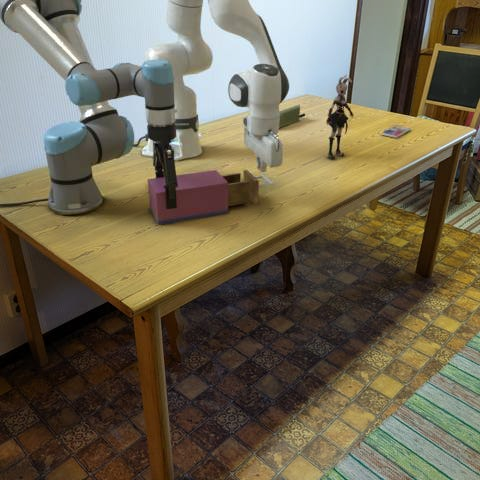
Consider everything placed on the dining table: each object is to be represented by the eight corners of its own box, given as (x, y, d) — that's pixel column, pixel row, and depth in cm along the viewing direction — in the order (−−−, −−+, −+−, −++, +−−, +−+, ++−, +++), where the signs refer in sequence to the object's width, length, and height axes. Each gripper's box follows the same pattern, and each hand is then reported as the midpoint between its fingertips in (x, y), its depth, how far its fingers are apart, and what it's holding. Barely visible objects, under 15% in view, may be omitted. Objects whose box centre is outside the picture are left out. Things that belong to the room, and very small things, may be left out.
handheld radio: (268, 129, 217) (300, 116, 234) (274, 130, 216) (306, 118, 233) (269, 113, 214) (302, 102, 231) (276, 115, 212) (308, 103, 229)
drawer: (263, 189, 159) (264, 167, 155) (275, 201, 152) (276, 178, 148) (186, 201, 151) (185, 177, 147) (196, 214, 144) (195, 190, 140)
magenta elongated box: (216, 198, 155) (216, 169, 150) (228, 213, 147) (228, 182, 142) (150, 209, 148) (147, 179, 144) (158, 224, 140) (155, 193, 135)
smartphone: (411, 128, 218) (397, 136, 208) (410, 130, 218) (396, 138, 208) (395, 124, 222) (380, 132, 211) (394, 126, 222) (380, 134, 212)
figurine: (327, 162, 183) (336, 77, 168) (315, 158, 187) (322, 74, 172) (352, 153, 191) (362, 71, 177) (339, 149, 195) (348, 69, 181)
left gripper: (187, 134, 124) (191, 215, 135) (164, 110, 143) (169, 183, 154) (157, 137, 122) (163, 219, 133) (138, 113, 140) (144, 186, 151)
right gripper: (289, 135, 136) (286, 182, 143) (259, 114, 153) (257, 157, 160) (268, 137, 134) (266, 185, 141) (240, 116, 151) (239, 159, 158)
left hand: (166, 200), depth 143 cm, fingers closed on magenta elongated box, 10 cm apart
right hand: (261, 170), depth 151 cm, fingers closed
